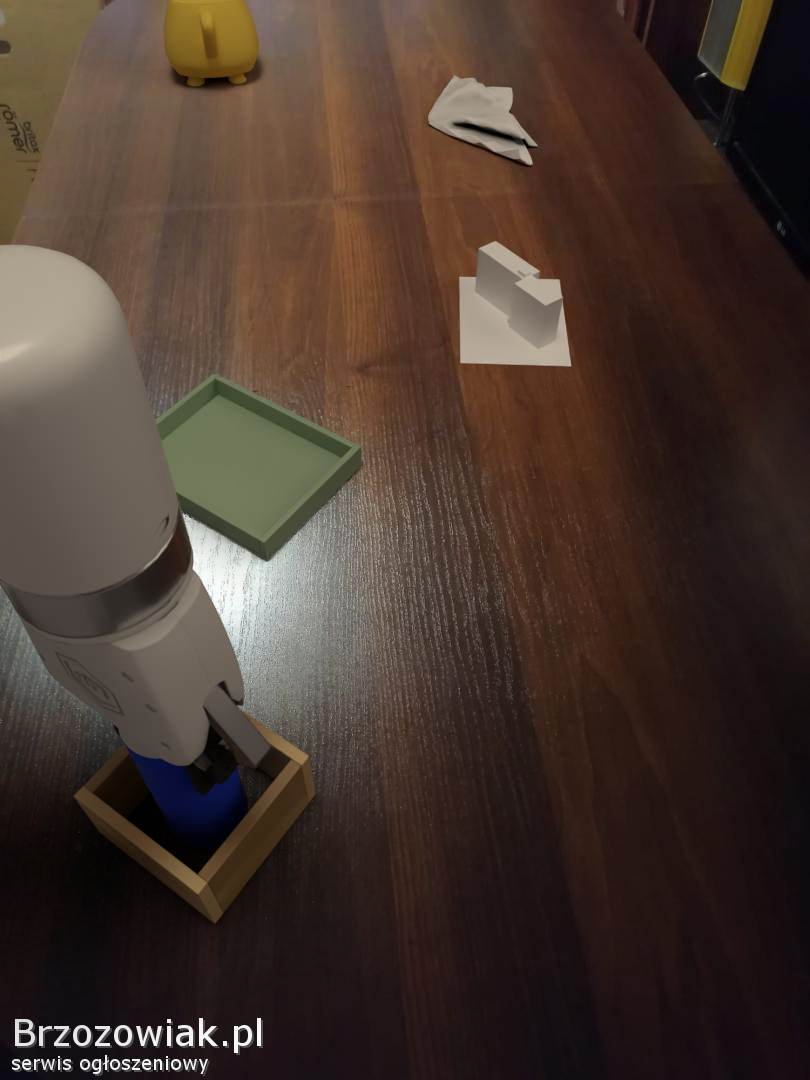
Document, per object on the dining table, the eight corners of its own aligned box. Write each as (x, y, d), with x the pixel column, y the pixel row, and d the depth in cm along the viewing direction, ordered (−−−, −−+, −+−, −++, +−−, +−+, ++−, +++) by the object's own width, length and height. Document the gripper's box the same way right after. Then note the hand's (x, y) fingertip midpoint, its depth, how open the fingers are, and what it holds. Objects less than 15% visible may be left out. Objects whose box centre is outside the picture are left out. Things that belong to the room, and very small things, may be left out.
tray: (118, 474, 76) (111, 454, 75) (218, 392, 83) (214, 372, 81) (267, 561, 71) (263, 542, 69) (362, 466, 77) (361, 446, 76)
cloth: (417, 80, 127) (417, 64, 125) (509, 77, 128) (511, 61, 126) (440, 170, 110) (441, 153, 109) (545, 166, 111) (548, 149, 110)
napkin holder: (457, 276, 96) (460, 230, 91) (559, 278, 96) (567, 232, 91) (460, 364, 87) (463, 316, 82) (573, 366, 86) (583, 319, 82)
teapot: (257, 40, 135) (247, -52, 125) (265, 97, 123) (254, 0, 113) (170, 44, 133) (153, -49, 124) (169, 103, 121) (150, 5, 111)
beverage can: (186, 769, 59) (136, 655, 48) (258, 784, 59) (225, 672, 47) (158, 842, 56) (96, 739, 44) (233, 859, 55) (191, 759, 44)
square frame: (99, 832, 56) (73, 796, 52) (204, 717, 62) (189, 674, 57) (215, 924, 53) (197, 894, 48) (316, 793, 58) (309, 755, 54)
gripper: (-115, 515, 36) (27, 717, 50) (185, 726, 30) (251, 887, 44) (26, 415, 40) (121, 628, 54) (316, 584, 34) (338, 773, 48)
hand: (179, 743), depth 49 cm, fingers closed on beverage can, 5 cm apart
